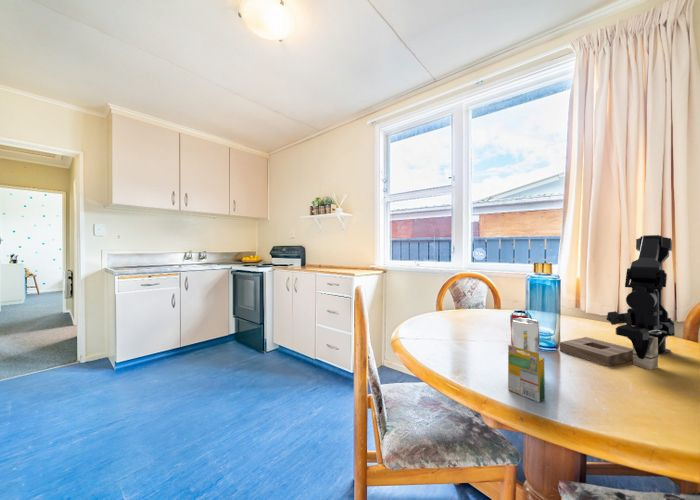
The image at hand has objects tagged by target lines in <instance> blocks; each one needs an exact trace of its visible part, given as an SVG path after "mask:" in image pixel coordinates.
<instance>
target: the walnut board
mask: <svg viewBox="0 0 700 500" xmlns="http://www.w3.org/2000/svg"><path fill="white" fill-rule="evenodd" d="M559 352H563V353H565V354H569V355H572V356H576V357H578V358H582V359H583V360H584V359H585V360H588V361H592V362H594V363H597V364H600V365H603V366H607V367H611V366H614V365H618V364H622V363H625V362H630V361H633V347H632V348H631V347H627V346H625V345H620V344H616V343H612V342H608V341H604V340H601V339H596V338H593V337H588V336H584V337H580V338H575V339H568V340H564V341H559Z"/></svg>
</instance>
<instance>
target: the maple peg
mask: <svg viewBox="0 0 700 500" xmlns="http://www.w3.org/2000/svg"><path fill="white" fill-rule="evenodd" d="M648 338H652V339H653V342H652V344H651V346H650V348H649V350H648V352H647V354H646V356H645V358H644V359H640V358H638V356H637V353H636V351H635V348H634V346H633V345H632V349H633V360H632V365H634V366H637V367H640V368H643V369H647V370H654V369H657V368H659V362H658V361H659V353H658V338H657V337H653V336H649V337H648Z"/></svg>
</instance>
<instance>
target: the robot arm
mask: <svg viewBox="0 0 700 500" xmlns="http://www.w3.org/2000/svg"><path fill="white" fill-rule="evenodd" d="M635 250H636V251H638V257H637V259H635V260H633V261H632V262H631V263H630V266H629V268H627V269H626V274H625V282H624V283H625V284H624V287H625V288H631V292H630V293H628V294H627V296H626V298H625V302H626V305H627V306H628V307H629V308H627V309H626V310H627V312H621V313H620V312H619V313H618V312H617V311H608V312H607V315H606V321H608V322H610V324H611V326H615V325H618V324H619V325H618V326H617V327H615V335H617V336H620V337H624V338H627V339H628V340H630V342H631V343H632V347H633V346H634V348H635V351H636V353H637V356H638V358H640V359H644V358H645V356H646V354H647V352H648V350H649V348H650V346H651V344H652V342H653V339H652V338H648V337H649V336H653V337H657V338H658V354H661V355H664V354H666V353H670V352H672V350H671V349H668V348H666V347H667V346H666V345H667V344H666V343H667V342H666V341H667V338H668V337H674V336H675V332H676V331H675V329H676V328H675V322H674V321H673V320H672V318H671V317H669V312H668V311H667V309H666V308H665V307H664V306H663V304H662V303H663V290H664V288H666V287H667V279H668V274H667V273H666V271H665V270H664V269H663V264H664V262H665V261H666V260H667V259H668V258H669V257H670V251H671V252H672V251H673V240H672V238H671V237H666V236H662V235H660V234H651V235H649V234H647V235H641V236H640V237H639V238H636V239H635ZM621 324H622V325H621Z"/></svg>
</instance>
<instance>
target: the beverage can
mask: <svg viewBox="0 0 700 500" xmlns="http://www.w3.org/2000/svg"><path fill="white" fill-rule="evenodd" d="M514 318H528V315H527V314H526V313H522V312H513V313H511V315H510V331H511V332H510V336H511V337H510V340H511V341H510V342H511V346H513V342H512V322H513V319H514ZM528 319H529V318H528Z"/></svg>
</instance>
